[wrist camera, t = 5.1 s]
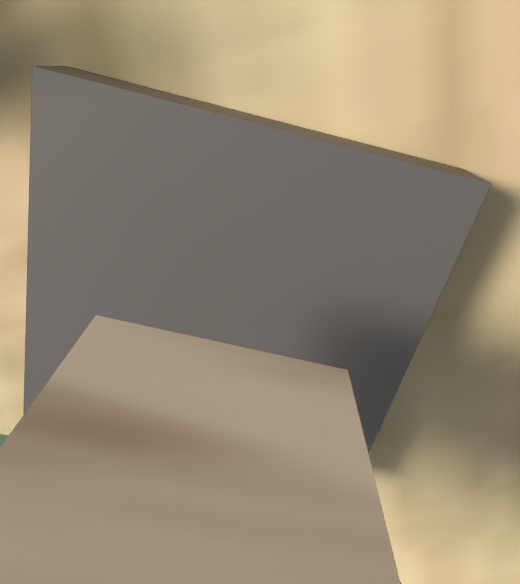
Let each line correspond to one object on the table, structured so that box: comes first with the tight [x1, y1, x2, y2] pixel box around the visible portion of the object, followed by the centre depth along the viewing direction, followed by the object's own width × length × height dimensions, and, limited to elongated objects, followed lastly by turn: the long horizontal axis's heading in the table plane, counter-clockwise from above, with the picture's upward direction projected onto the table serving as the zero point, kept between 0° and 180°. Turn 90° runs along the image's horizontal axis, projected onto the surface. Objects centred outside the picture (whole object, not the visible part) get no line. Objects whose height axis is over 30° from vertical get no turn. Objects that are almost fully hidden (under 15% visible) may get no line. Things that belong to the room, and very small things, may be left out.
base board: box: [24, 66, 491, 452], centre depth 15 cm, size 12×12×2 cm
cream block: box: [0, 315, 400, 584], centre depth 8 cm, size 5×5×5 cm
